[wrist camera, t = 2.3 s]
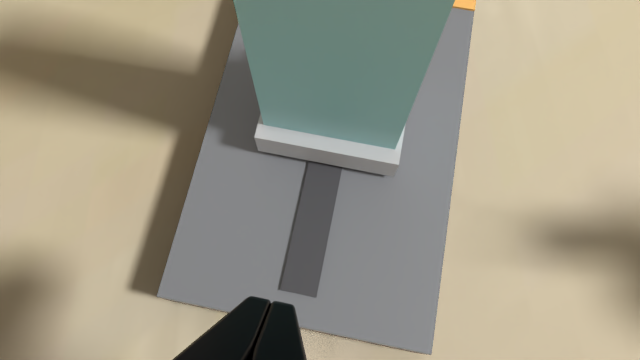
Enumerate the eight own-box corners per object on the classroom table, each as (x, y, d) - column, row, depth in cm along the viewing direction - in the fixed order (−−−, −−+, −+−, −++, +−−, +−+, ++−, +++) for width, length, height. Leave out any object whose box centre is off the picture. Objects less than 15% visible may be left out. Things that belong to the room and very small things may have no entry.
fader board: (421, 353, 17) (432, 354, 15) (169, 300, 18) (155, 296, 16) (470, -22, 22) (481, -49, 20) (272, -55, 22) (269, -83, 21)
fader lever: (393, 176, 17) (506, -72, 7) (258, 150, 17) (173, -126, 7) (409, 76, 18) (527, -262, 8) (283, 53, 19) (241, -301, 8)
